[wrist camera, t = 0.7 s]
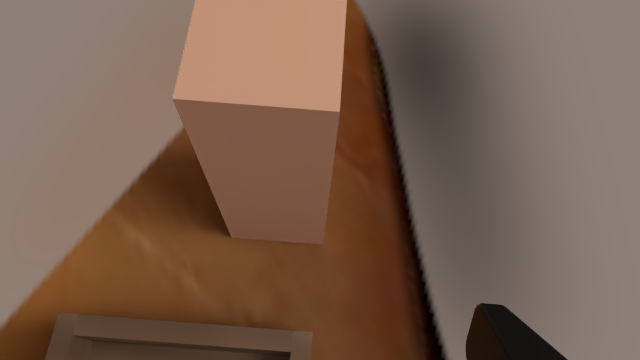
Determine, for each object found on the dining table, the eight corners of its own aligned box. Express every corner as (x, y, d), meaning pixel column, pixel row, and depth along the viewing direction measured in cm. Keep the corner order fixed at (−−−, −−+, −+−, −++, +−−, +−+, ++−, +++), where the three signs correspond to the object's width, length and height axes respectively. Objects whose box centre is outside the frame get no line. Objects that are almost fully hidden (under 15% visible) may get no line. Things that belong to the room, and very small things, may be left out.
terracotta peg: (322, 244, 24) (339, 111, 13) (231, 237, 24) (172, 99, 13) (328, 163, 26) (347, -13, 15) (243, 156, 26) (201, -24, 15)
